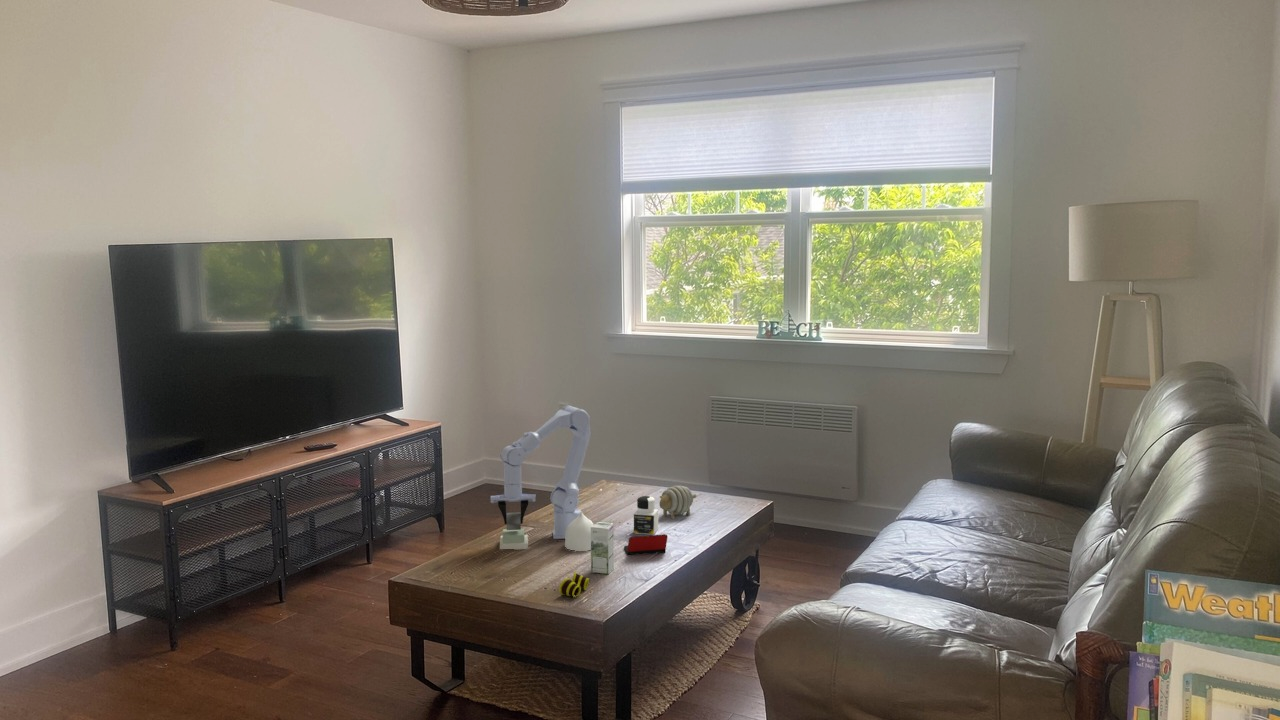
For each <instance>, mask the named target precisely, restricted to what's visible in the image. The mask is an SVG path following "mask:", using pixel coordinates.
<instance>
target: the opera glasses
mask: <svg viewBox="0 0 1280 720" xmlns="http://www.w3.org/2000/svg"><path fill="white" fill-rule="evenodd" d="M589 583H590V578H589V577H585V576H583V575H582V574H578V572H577V571H574V573H573V576H572V578H568V577H567V578H564V580H563V581H561V583H560V585H559V587H558V592H559V594H560V595H561V596H568V597H572V596H573V597H572V598H574V597H576V596H578V595H580V594H581V590H583V591H586V590H587V589H588V586H589ZM586 588H587V589H586ZM564 594H565V595H564ZM574 595H575V596H574ZM578 597H579V596H578ZM576 598H577V597H576Z"/></svg>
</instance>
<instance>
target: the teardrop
mask: <svg viewBox="0 0 1280 720" xmlns="http://www.w3.org/2000/svg"><path fill="white" fill-rule="evenodd" d="M593 524H594V523H593V521H592V519H590V518H587V516H585V514H584V512H583V511H582V510H581V512H580V514H579V516H578V517H577V518H576V519H575V520H573V521H572V522H571V523H570V524H569V526H568V527H567V530H566V534H565V538H564V540H565V542H564V548H565V547H566V548H567V549H570V550H575V551H574V552H576V551H586V552H588V551H587V550H591V526H592V525H593ZM566 548H565V549H566ZM567 549H566V550H567ZM570 550H569V551H570Z"/></svg>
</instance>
